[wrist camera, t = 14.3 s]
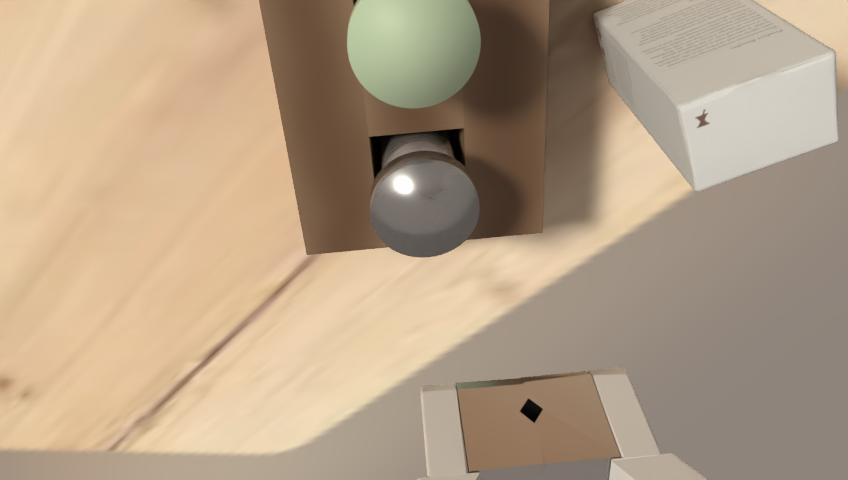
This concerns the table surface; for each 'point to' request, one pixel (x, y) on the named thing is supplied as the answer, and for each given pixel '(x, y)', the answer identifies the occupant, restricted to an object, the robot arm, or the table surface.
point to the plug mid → (413, 49)
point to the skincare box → (720, 83)
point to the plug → (422, 195)
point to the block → (408, 119)
